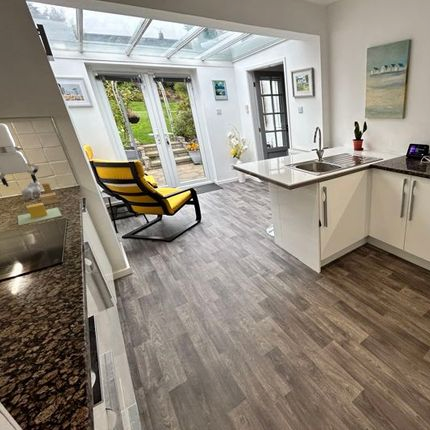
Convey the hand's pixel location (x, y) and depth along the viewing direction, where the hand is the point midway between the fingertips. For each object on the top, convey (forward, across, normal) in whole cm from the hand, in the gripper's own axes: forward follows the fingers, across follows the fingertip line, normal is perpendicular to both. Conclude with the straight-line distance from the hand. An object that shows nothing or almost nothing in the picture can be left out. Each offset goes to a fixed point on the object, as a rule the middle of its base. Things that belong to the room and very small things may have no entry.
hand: (21, 184), depth 134 cm
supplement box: (+19, -9, -41) cm, 46 cm away
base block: (+18, -8, -27) cm, 34 cm away
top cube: (+18, -1, +1) cm, 18 cm away
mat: (+18, -1, +1) cm, 18 cm away
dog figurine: (+19, -2, -52) cm, 55 cm away
